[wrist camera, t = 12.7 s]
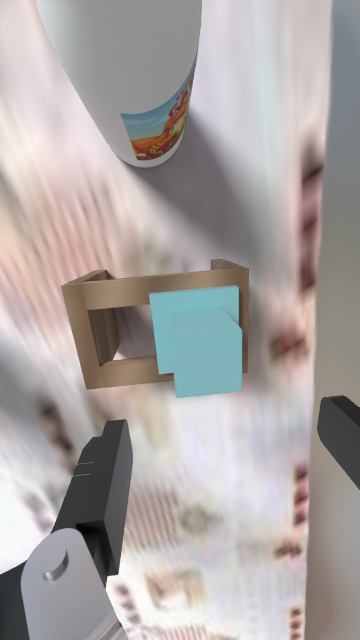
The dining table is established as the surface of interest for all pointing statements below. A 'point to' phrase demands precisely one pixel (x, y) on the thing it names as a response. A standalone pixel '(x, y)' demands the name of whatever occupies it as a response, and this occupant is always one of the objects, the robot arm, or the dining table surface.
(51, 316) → the dining table surface
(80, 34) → the milk bottle
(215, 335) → the teal peg
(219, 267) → the brown keyhole frame
